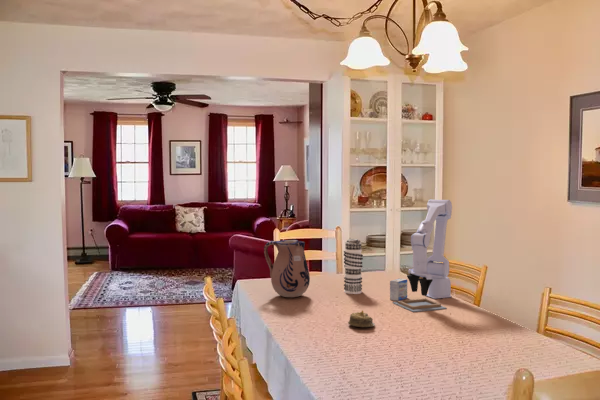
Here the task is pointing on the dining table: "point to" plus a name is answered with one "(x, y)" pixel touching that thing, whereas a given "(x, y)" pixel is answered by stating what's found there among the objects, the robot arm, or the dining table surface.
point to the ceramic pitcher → (288, 268)
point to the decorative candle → (353, 266)
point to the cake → (361, 320)
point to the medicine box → (398, 289)
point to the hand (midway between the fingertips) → (419, 293)
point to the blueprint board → (419, 305)
